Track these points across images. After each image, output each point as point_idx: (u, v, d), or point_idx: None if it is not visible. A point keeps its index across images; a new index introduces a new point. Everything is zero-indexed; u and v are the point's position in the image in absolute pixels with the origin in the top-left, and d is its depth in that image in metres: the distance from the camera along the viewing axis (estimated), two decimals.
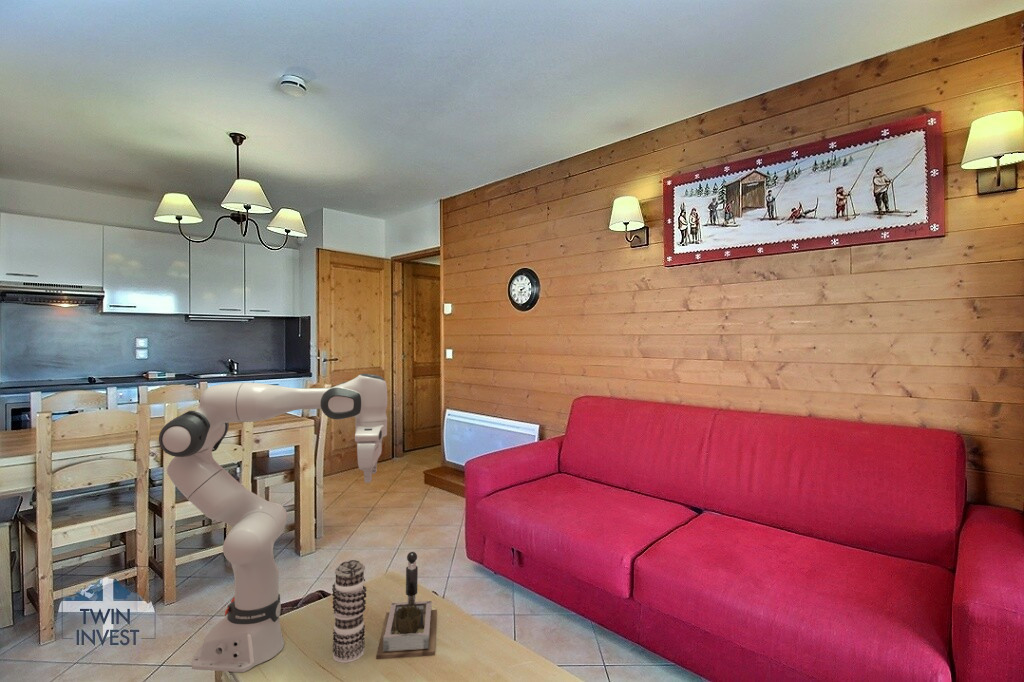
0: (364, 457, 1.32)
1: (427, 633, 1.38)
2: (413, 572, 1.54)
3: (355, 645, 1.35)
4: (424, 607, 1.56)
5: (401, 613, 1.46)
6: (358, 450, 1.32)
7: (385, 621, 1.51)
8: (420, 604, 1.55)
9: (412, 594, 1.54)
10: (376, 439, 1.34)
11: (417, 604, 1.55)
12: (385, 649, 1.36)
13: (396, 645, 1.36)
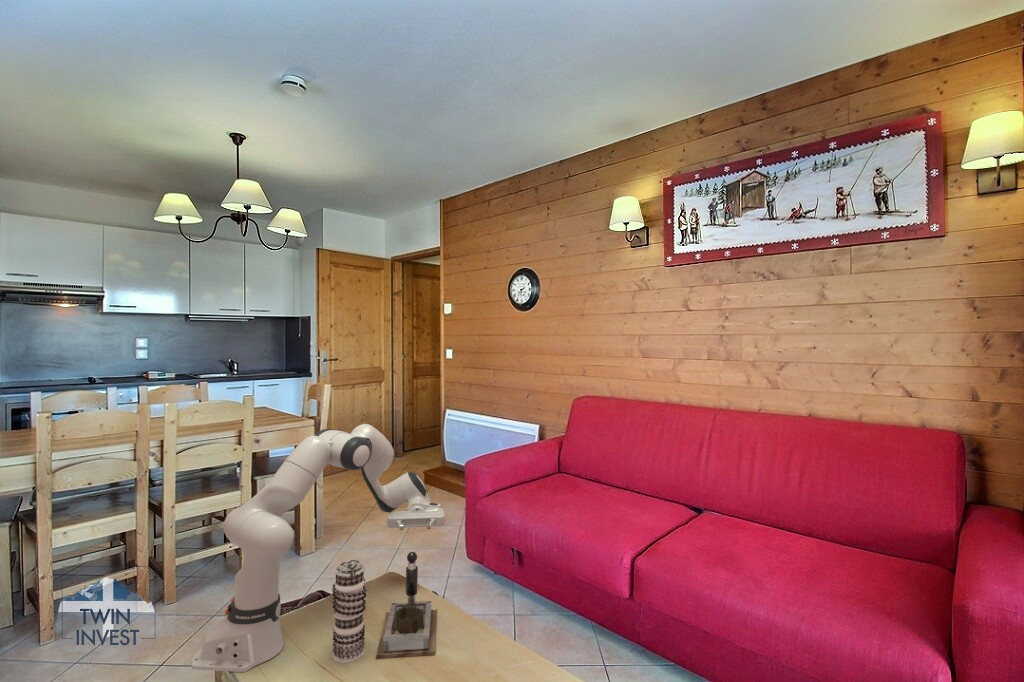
0: None
1: (427, 633, 1.38)
2: (413, 572, 1.54)
3: (355, 645, 1.35)
4: (424, 607, 1.56)
5: (401, 613, 1.46)
6: None
7: (385, 621, 1.51)
8: (420, 604, 1.55)
9: (412, 594, 1.54)
10: None
11: (417, 604, 1.55)
12: (385, 649, 1.36)
13: (396, 645, 1.36)
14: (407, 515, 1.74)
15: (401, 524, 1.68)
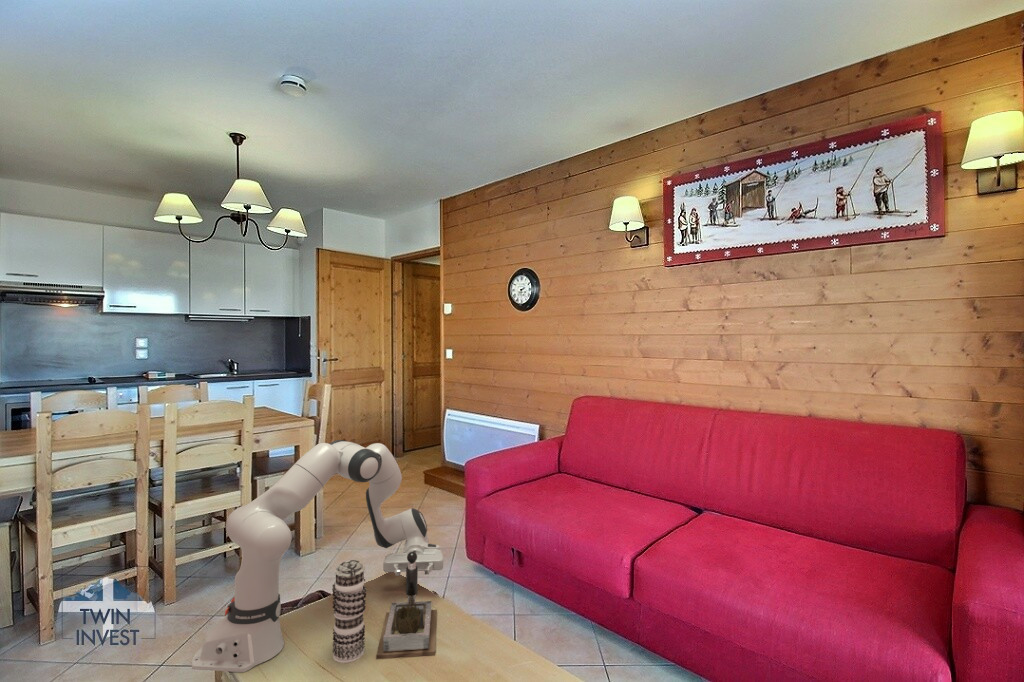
0: None
1: (427, 633, 1.38)
2: (413, 572, 1.54)
3: (355, 645, 1.35)
4: (424, 607, 1.56)
5: (401, 613, 1.46)
6: None
7: (385, 621, 1.51)
8: (420, 604, 1.55)
9: (412, 594, 1.54)
10: None
11: (417, 604, 1.55)
12: (385, 649, 1.36)
13: (396, 645, 1.36)
14: (404, 559, 1.67)
15: (398, 569, 1.62)
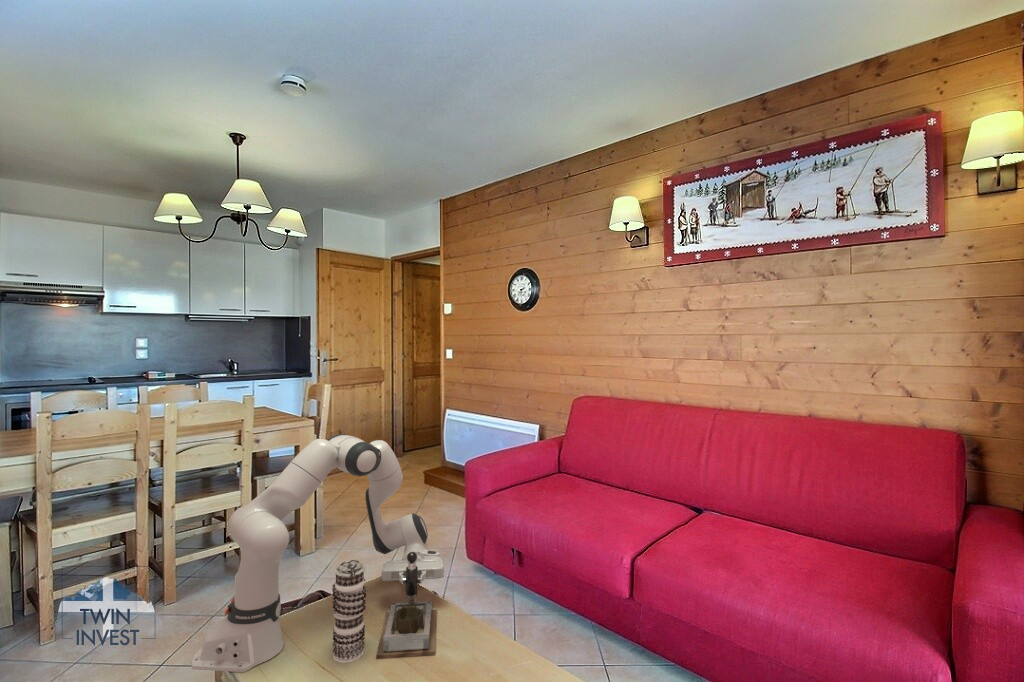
0: None
1: (427, 633, 1.38)
2: (413, 572, 1.54)
3: (355, 645, 1.35)
4: (424, 607, 1.56)
5: (401, 613, 1.46)
6: (442, 560, 1.66)
7: (385, 621, 1.51)
8: (420, 604, 1.55)
9: (412, 594, 1.54)
10: None
11: (417, 604, 1.55)
12: (385, 649, 1.36)
13: (396, 645, 1.36)
14: (403, 567, 1.61)
15: (403, 578, 1.55)
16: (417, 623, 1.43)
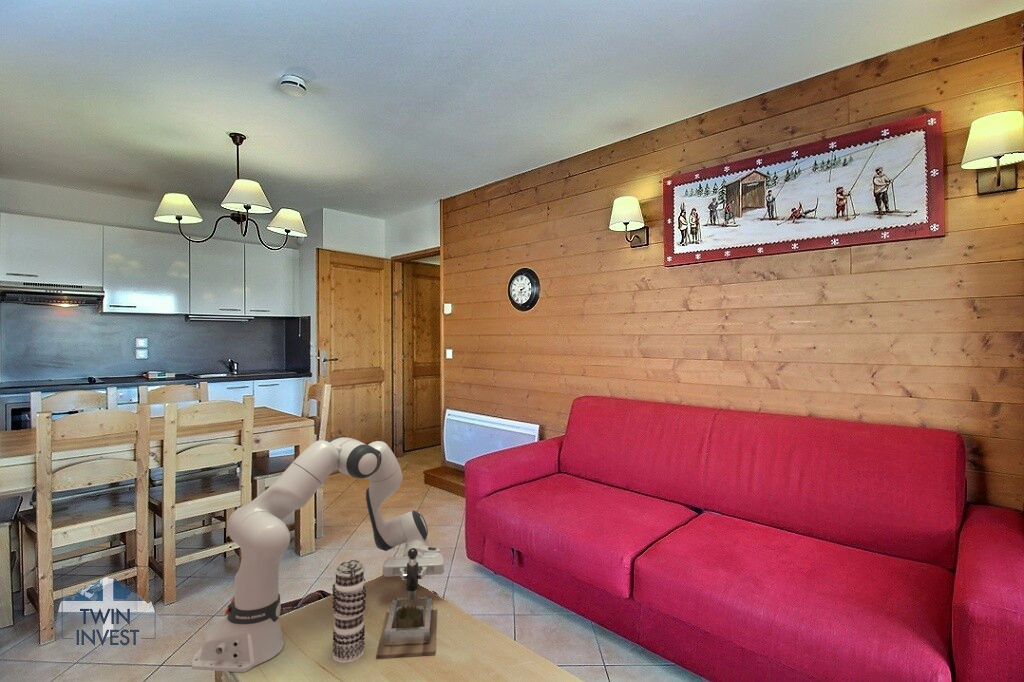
0: None
1: (427, 627, 1.41)
2: (414, 568, 1.57)
3: (355, 645, 1.35)
4: (424, 602, 1.58)
5: (401, 613, 1.46)
6: (442, 556, 1.69)
7: (385, 621, 1.51)
8: (421, 599, 1.58)
9: (412, 589, 1.57)
10: None
11: (418, 599, 1.58)
12: (386, 642, 1.39)
13: (397, 638, 1.39)
14: (404, 563, 1.64)
15: (404, 573, 1.58)
16: (417, 623, 1.43)
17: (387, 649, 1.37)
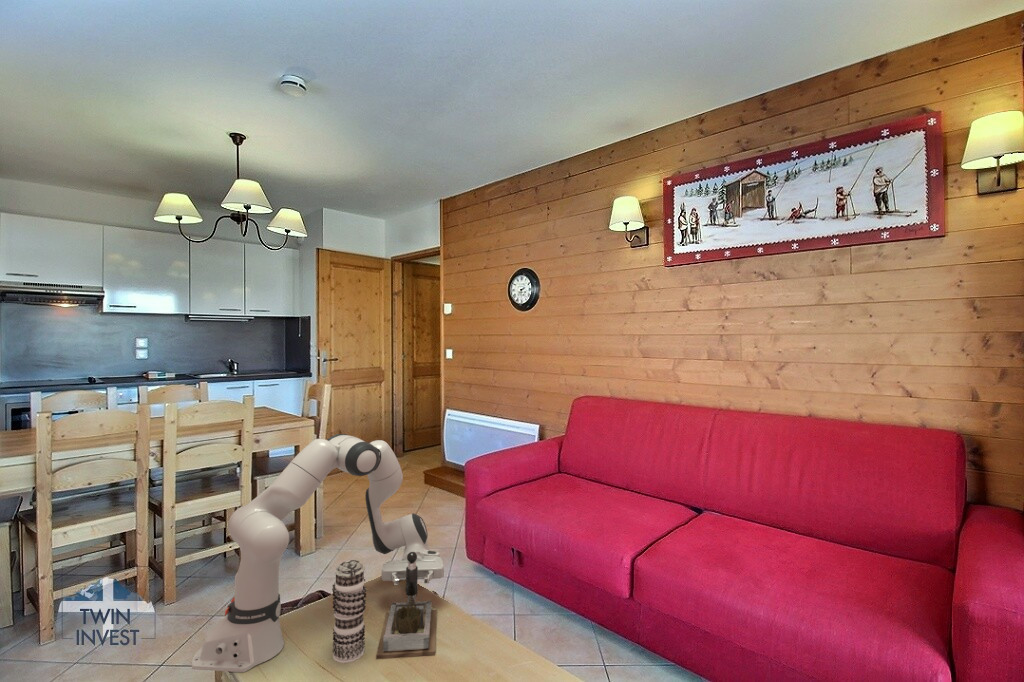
0: None
1: (427, 633, 1.38)
2: (413, 572, 1.54)
3: (355, 645, 1.35)
4: (424, 607, 1.56)
5: (401, 613, 1.46)
6: (442, 560, 1.66)
7: (385, 621, 1.51)
8: (420, 604, 1.56)
9: (412, 594, 1.54)
10: None
11: (417, 604, 1.55)
12: (385, 649, 1.36)
13: (396, 645, 1.36)
14: (403, 567, 1.61)
15: (396, 578, 1.55)
16: (417, 623, 1.43)
17: None
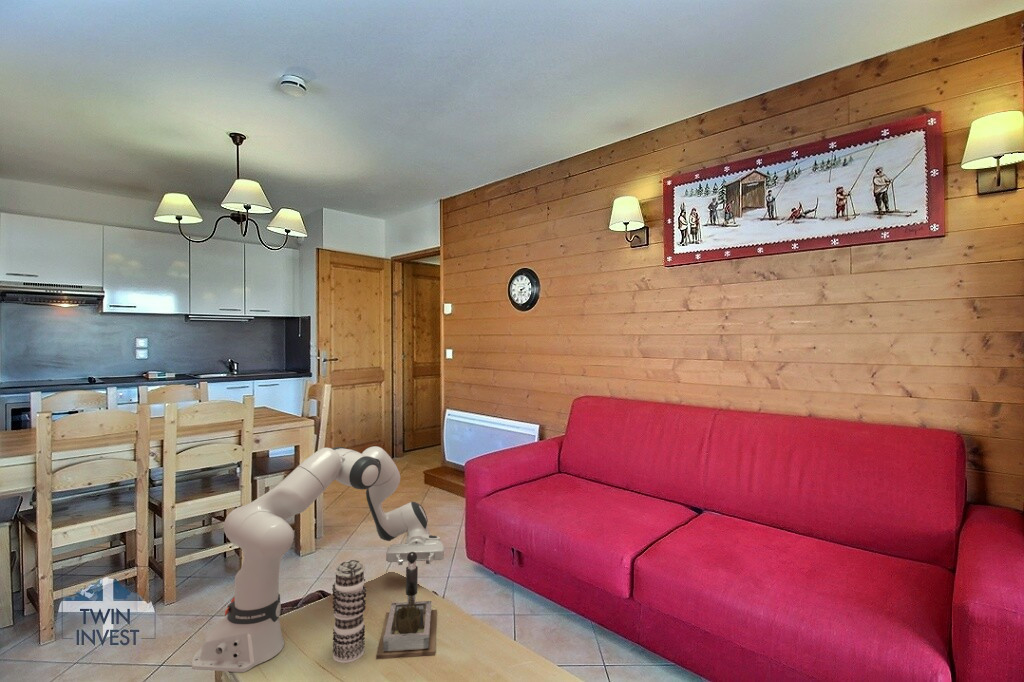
0: None
1: (427, 633, 1.38)
2: (413, 572, 1.54)
3: (355, 645, 1.35)
4: (424, 607, 1.56)
5: (401, 613, 1.46)
6: (442, 543, 1.79)
7: (385, 621, 1.51)
8: (420, 604, 1.56)
9: (412, 594, 1.54)
10: None
11: (417, 604, 1.55)
12: (385, 649, 1.36)
13: (396, 645, 1.36)
14: (406, 549, 1.74)
15: (400, 559, 1.68)
16: (417, 623, 1.43)
17: None
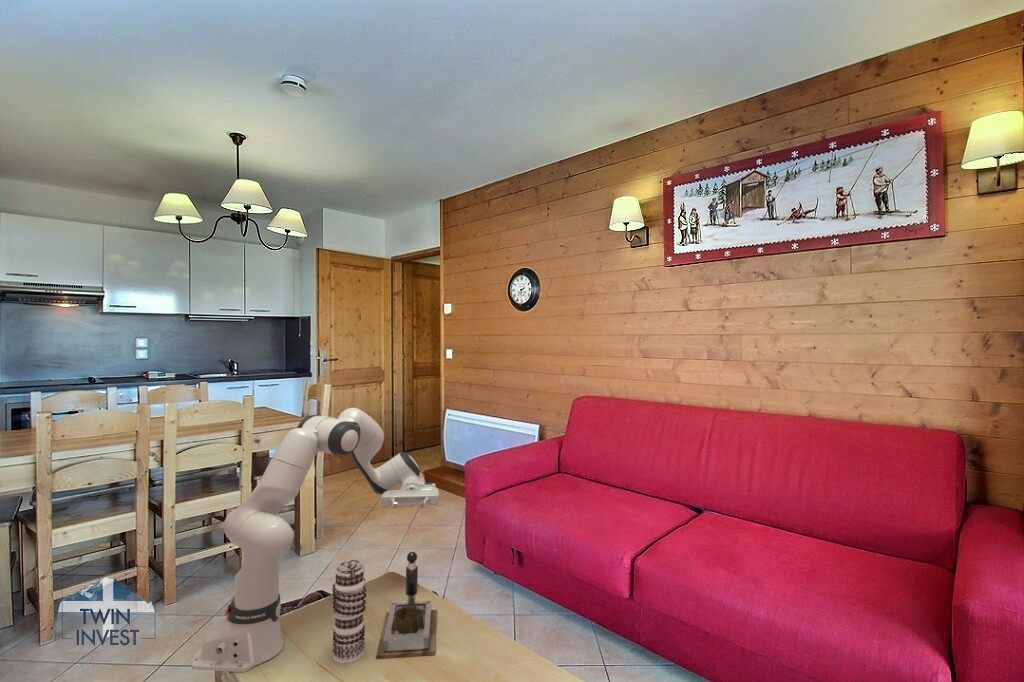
0: None
1: (427, 633, 1.38)
2: (413, 572, 1.54)
3: (355, 645, 1.35)
4: (424, 607, 1.56)
5: (401, 613, 1.46)
6: None
7: (385, 621, 1.51)
8: (420, 604, 1.56)
9: (412, 594, 1.54)
10: None
11: (417, 604, 1.55)
12: (385, 649, 1.36)
13: (396, 645, 1.36)
14: (401, 494, 1.72)
15: (395, 502, 1.66)
16: (417, 623, 1.43)
17: None
